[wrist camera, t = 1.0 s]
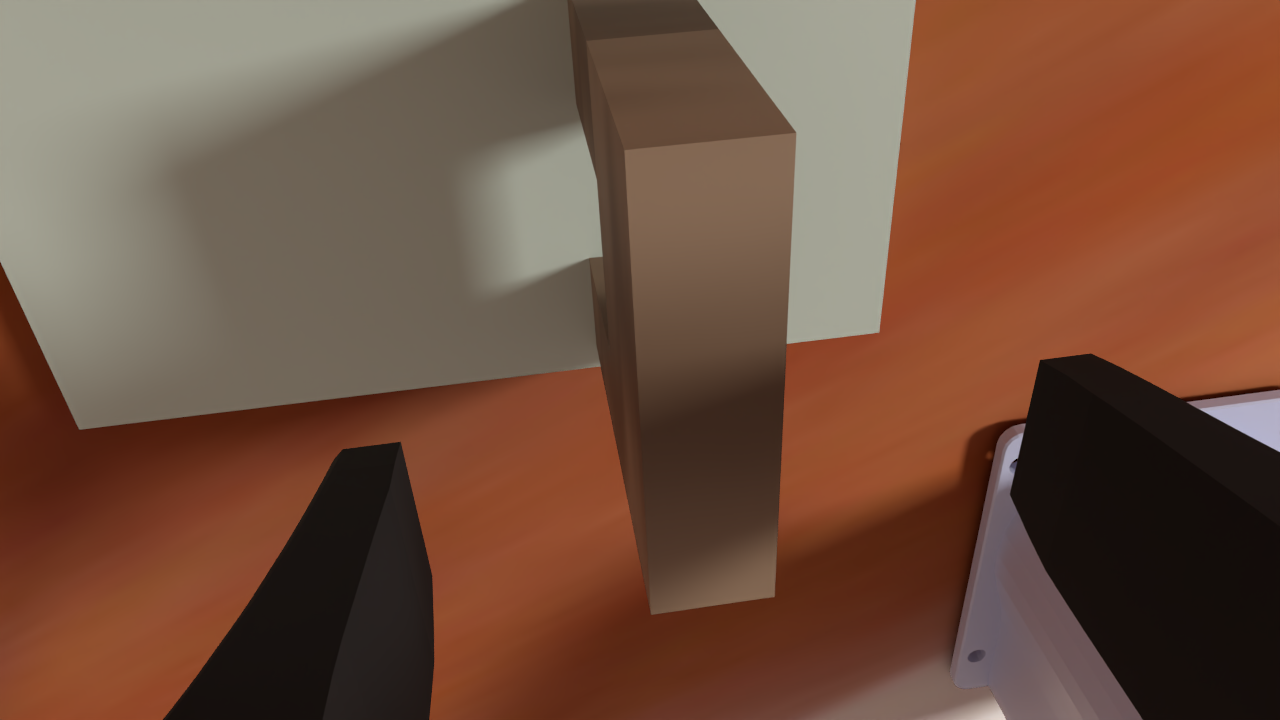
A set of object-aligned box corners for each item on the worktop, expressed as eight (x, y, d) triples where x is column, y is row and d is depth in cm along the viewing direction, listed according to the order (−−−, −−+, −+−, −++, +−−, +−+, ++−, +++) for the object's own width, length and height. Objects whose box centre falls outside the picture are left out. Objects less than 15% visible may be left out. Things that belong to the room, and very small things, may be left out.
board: (866, 312, 21) (878, 332, 21) (91, 405, 20) (79, 429, 19) (954, -570, 13) (979, -584, 13) (-330, -530, 12) (-377, -543, 11)
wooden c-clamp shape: (685, 335, 20) (774, 596, 14) (596, 346, 20) (651, 615, 14) (676, -27, 16) (797, 132, 10) (566, -18, 16) (624, 149, 10)
